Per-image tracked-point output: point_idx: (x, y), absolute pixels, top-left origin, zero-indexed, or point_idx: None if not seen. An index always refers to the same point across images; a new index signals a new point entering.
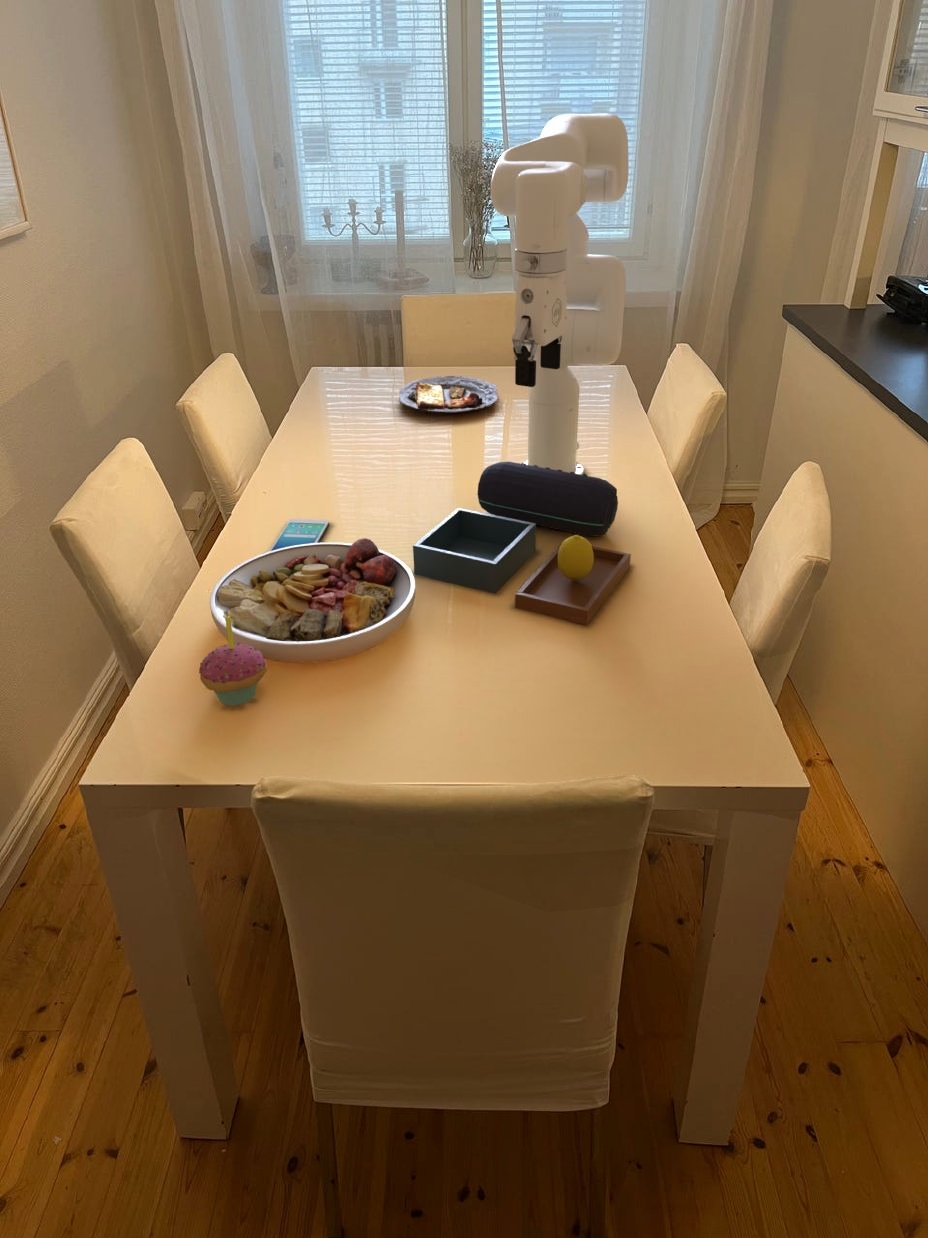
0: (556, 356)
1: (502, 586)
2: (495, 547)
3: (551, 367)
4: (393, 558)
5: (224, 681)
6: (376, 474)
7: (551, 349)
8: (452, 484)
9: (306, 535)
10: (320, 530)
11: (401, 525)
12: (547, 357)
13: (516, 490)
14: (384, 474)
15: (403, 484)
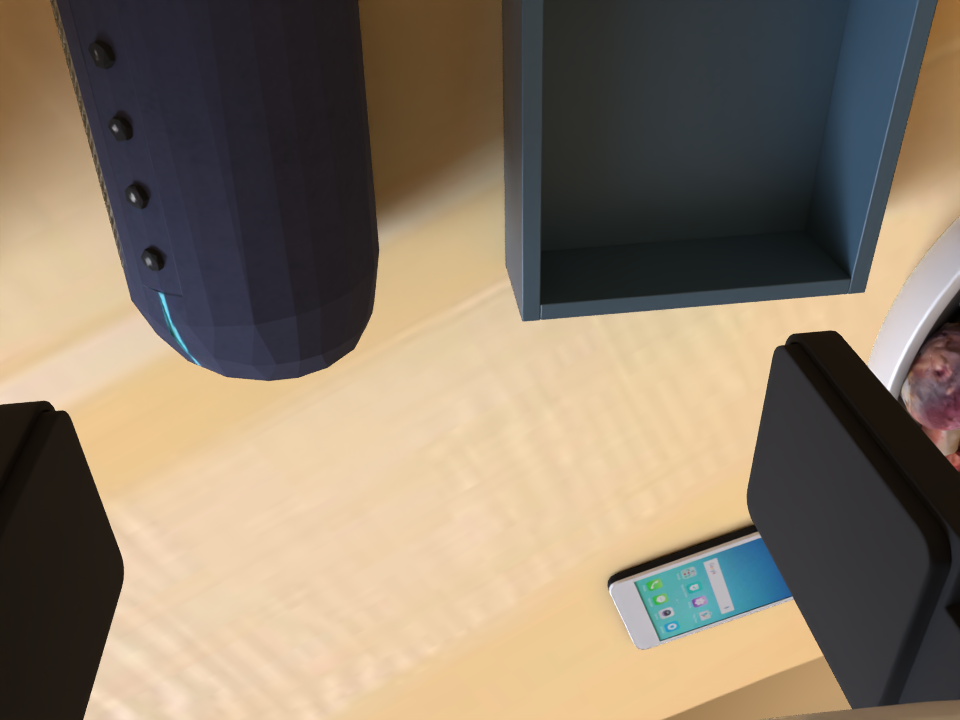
0: (18, 533)
1: None
2: (549, 99)
3: (86, 473)
4: (952, 297)
5: None
6: (250, 661)
7: (16, 670)
8: (160, 477)
9: (711, 577)
10: (673, 570)
11: (522, 440)
12: (70, 607)
13: (353, 175)
14: (235, 648)
15: (262, 579)
